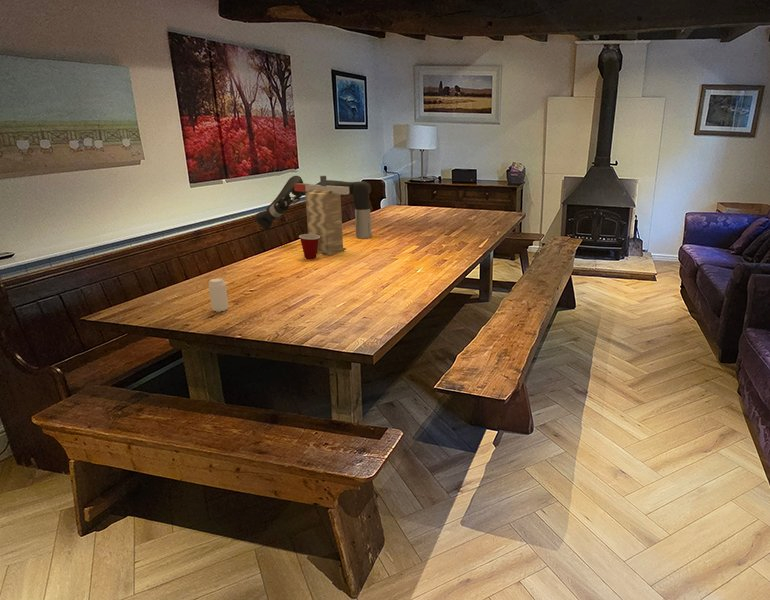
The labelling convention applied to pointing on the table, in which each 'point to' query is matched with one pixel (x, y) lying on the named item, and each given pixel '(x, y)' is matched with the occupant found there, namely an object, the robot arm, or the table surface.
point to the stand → (325, 220)
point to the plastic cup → (309, 245)
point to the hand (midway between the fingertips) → (295, 195)
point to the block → (321, 187)
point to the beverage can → (218, 295)
